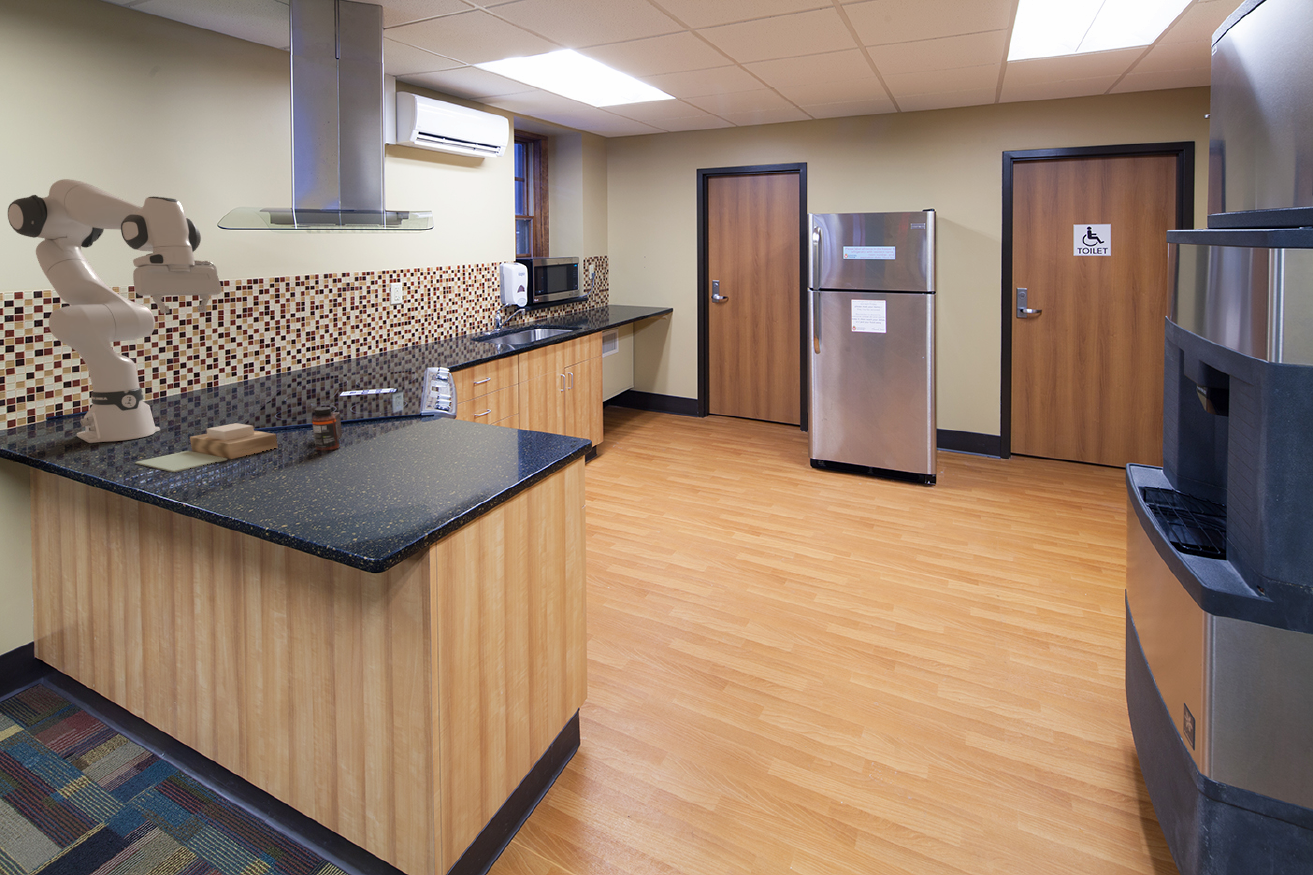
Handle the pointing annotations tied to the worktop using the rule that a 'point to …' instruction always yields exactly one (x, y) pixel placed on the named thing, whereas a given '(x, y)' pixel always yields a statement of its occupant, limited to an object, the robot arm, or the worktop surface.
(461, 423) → the worktop surface
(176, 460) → the mat
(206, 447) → the serving board
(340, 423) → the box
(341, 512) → the worktop surface
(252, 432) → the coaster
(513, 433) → the worktop surface
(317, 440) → the supplement bottle
